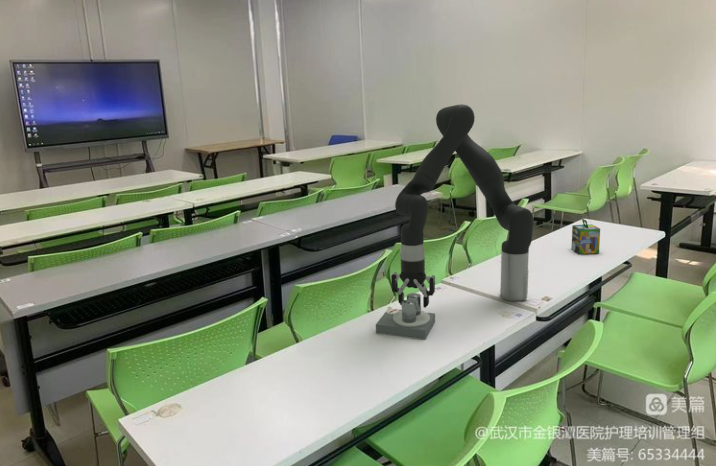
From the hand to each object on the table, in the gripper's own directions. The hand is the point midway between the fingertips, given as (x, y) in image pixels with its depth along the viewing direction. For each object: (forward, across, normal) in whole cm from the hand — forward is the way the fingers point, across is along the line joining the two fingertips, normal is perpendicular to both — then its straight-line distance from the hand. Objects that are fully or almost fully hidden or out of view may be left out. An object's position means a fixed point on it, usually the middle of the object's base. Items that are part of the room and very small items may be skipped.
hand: (413, 305), depth 170 cm
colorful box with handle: (+7, -53, -94) cm, 108 cm away
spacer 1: (+3, 0, 0) cm, 3 cm away
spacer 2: (+3, 0, +6) cm, 6 cm away
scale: (+7, +2, +3) cm, 7 cm away
